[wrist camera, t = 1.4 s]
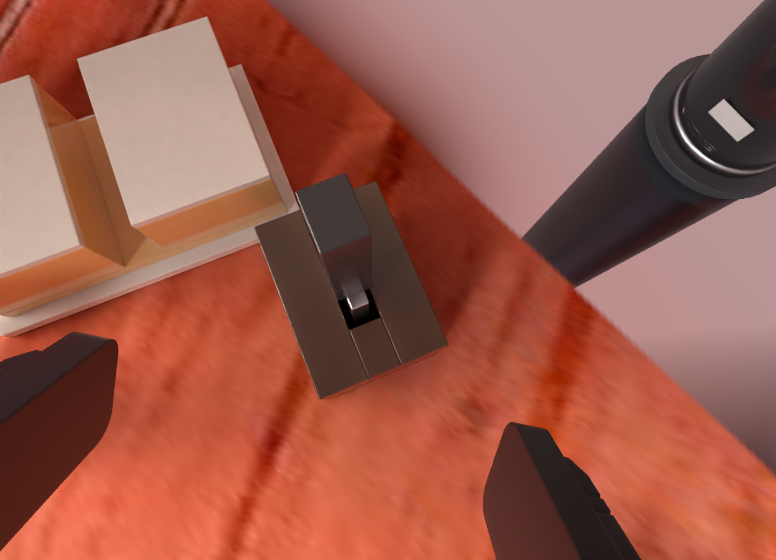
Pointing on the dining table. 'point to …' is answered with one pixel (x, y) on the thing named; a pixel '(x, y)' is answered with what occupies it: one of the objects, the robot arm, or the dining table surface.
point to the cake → (130, 176)
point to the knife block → (323, 314)
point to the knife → (341, 241)
